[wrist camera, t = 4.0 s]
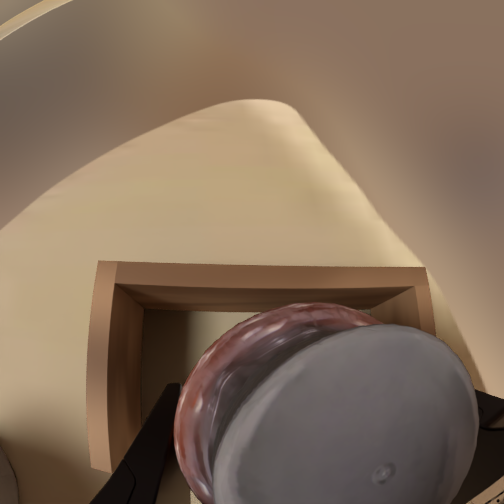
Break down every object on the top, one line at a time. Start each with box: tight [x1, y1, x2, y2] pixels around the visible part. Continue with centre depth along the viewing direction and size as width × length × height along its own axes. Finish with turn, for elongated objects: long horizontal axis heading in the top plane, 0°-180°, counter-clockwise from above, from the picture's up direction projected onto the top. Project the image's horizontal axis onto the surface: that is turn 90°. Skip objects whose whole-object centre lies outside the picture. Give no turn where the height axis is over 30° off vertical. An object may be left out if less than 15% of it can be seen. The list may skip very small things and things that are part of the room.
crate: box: [86, 261, 436, 473], centre depth 13 cm, size 10×16×5 cm, turn 91°
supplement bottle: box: [174, 302, 479, 504], centre depth 8 cm, size 7×7×13 cm
